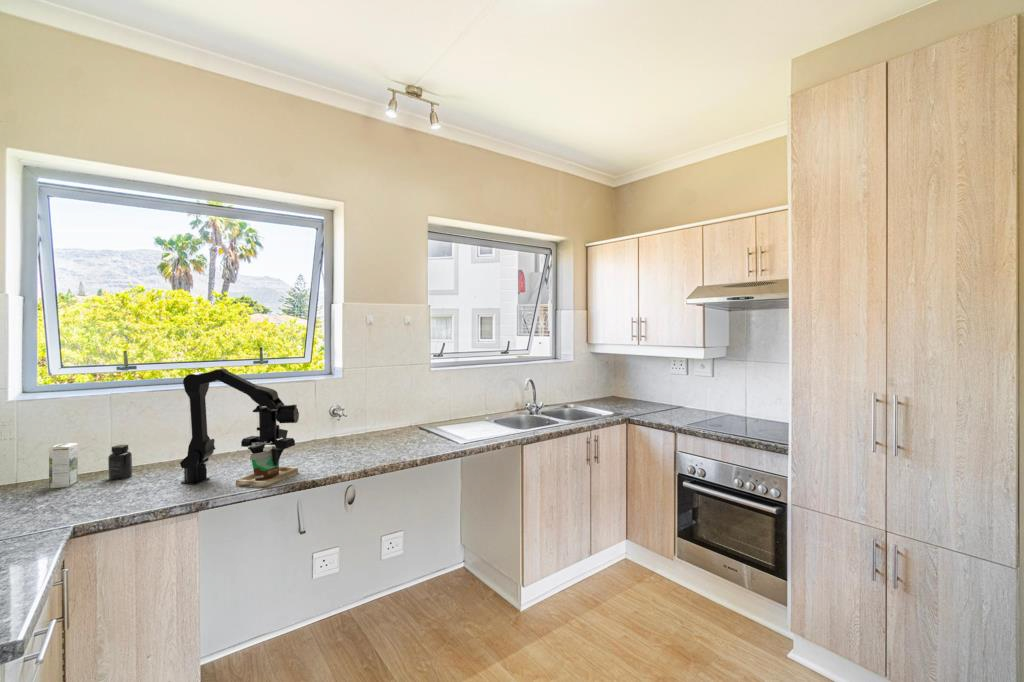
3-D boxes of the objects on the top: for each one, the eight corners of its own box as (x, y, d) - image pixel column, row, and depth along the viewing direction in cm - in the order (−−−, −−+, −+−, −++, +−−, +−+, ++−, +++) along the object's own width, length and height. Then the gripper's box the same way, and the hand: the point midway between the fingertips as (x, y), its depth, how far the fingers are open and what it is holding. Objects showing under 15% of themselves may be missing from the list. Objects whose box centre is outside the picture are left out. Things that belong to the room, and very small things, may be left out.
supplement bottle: (136, 475, 177) (136, 444, 177) (117, 481, 171) (116, 448, 170) (123, 474, 179) (123, 443, 179) (103, 479, 173) (103, 447, 172)
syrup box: (57, 483, 168) (57, 443, 168) (78, 481, 170) (77, 442, 170) (48, 488, 163) (47, 447, 162) (70, 486, 165) (69, 446, 164)
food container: (267, 481, 168) (264, 453, 168) (252, 481, 169) (249, 454, 169) (289, 470, 180) (287, 445, 180) (275, 471, 181) (273, 446, 181)
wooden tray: (235, 485, 166) (235, 480, 166) (271, 470, 184) (271, 465, 184) (265, 488, 164) (265, 482, 164) (298, 472, 182) (298, 467, 182)
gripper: (304, 420, 180) (304, 460, 180) (261, 418, 183) (262, 457, 184) (284, 426, 169) (285, 469, 169) (239, 424, 172) (240, 466, 173)
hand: (268, 465), depth 174 cm, fingers open, 6 cm apart
